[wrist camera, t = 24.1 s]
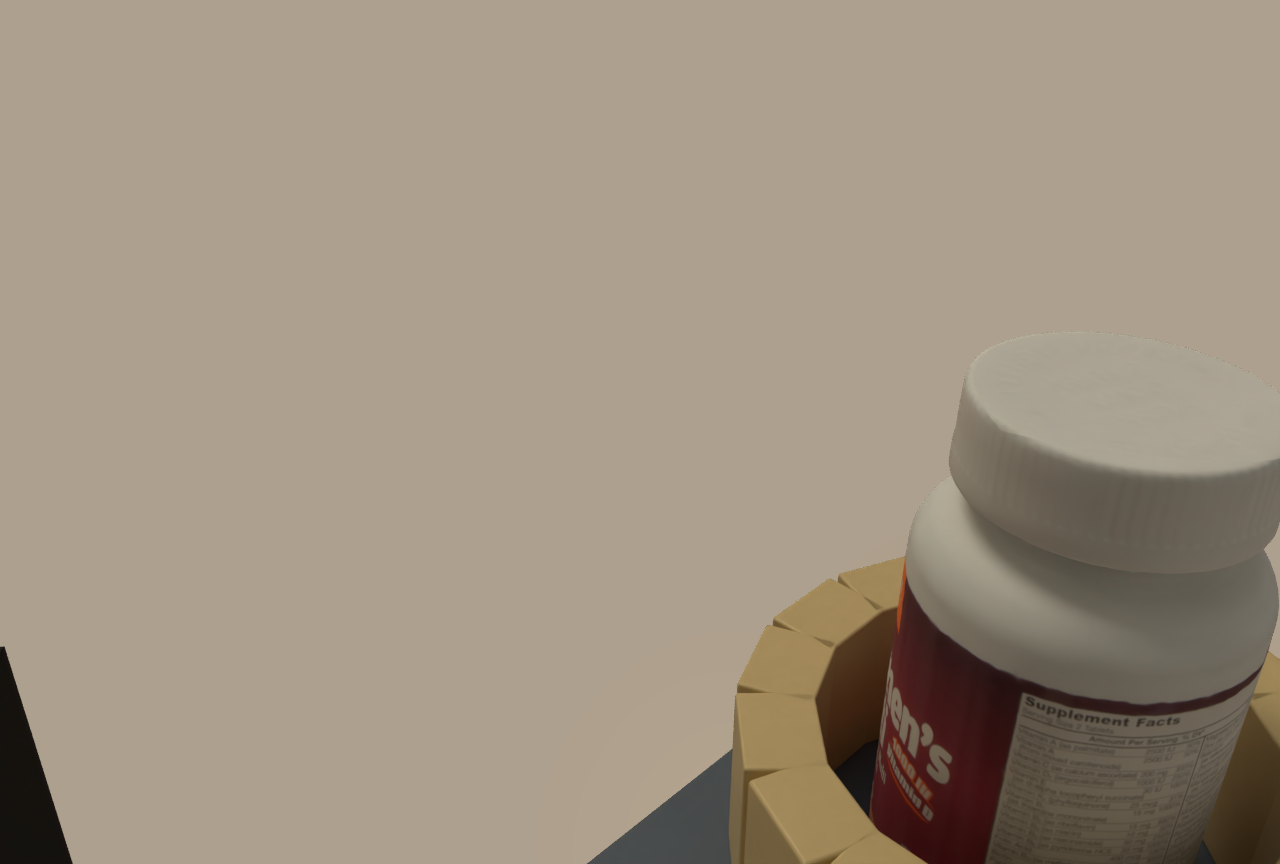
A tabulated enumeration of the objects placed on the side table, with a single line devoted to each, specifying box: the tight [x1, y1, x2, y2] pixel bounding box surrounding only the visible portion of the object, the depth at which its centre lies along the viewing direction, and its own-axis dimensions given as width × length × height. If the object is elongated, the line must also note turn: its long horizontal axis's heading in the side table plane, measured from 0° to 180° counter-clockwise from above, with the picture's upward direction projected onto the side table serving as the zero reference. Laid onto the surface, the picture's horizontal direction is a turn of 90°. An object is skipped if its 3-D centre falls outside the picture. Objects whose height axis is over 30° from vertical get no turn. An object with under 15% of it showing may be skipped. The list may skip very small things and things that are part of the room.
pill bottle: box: [869, 331, 1280, 864], centre depth 21 cm, size 6×6×11 cm
